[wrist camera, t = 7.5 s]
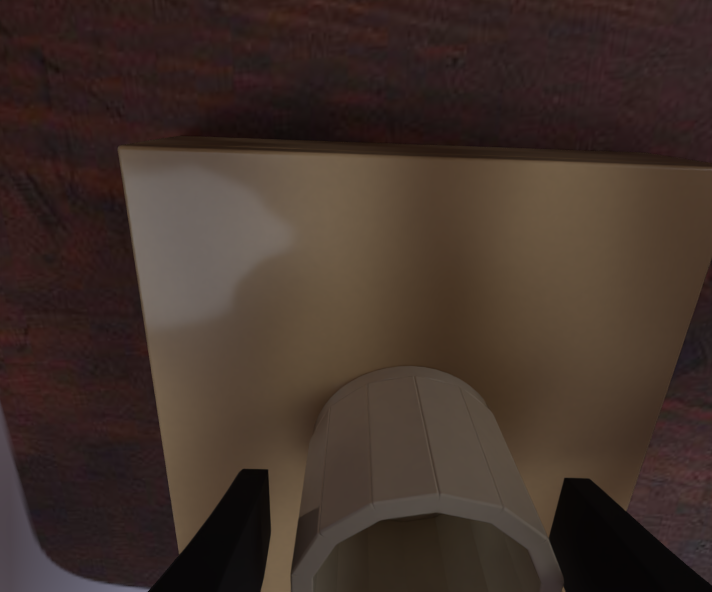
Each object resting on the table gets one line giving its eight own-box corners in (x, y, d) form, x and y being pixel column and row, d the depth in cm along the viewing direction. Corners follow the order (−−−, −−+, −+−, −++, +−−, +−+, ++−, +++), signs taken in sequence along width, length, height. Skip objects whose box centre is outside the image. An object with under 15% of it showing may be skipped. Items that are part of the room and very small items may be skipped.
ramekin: (311, 513, 14) (292, 681, 10) (311, 360, 12) (287, 490, 8) (483, 518, 14) (534, 686, 10) (511, 366, 12) (590, 498, 8)
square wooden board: (218, 532, 20) (188, 624, 16) (177, 135, 14) (115, 145, 10) (545, 541, 20) (586, 634, 16) (646, 152, 14) (744, 167, 10)
